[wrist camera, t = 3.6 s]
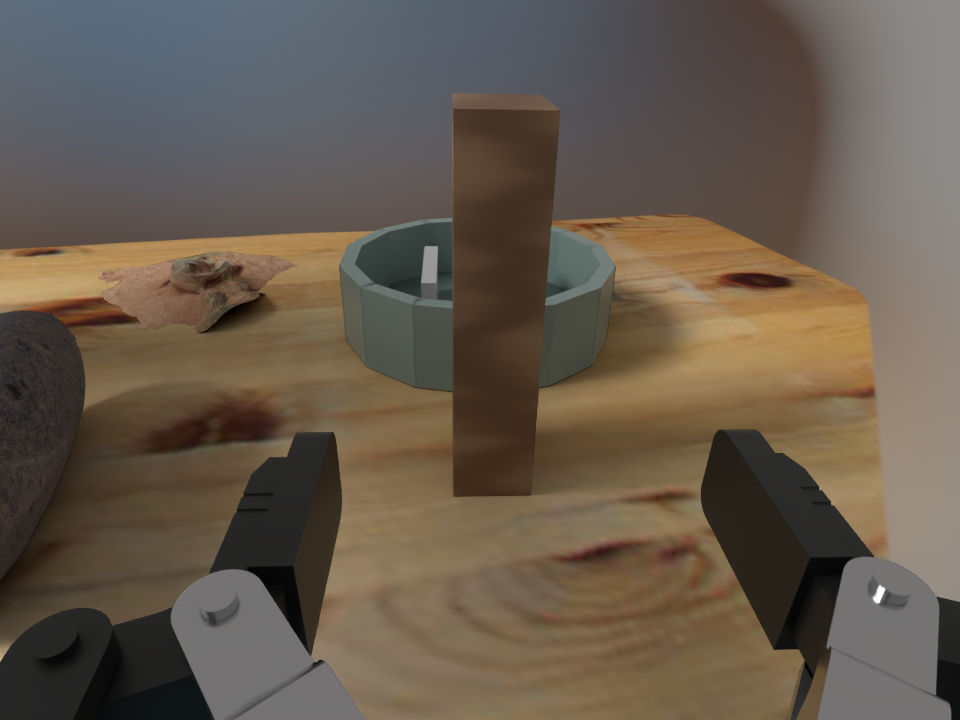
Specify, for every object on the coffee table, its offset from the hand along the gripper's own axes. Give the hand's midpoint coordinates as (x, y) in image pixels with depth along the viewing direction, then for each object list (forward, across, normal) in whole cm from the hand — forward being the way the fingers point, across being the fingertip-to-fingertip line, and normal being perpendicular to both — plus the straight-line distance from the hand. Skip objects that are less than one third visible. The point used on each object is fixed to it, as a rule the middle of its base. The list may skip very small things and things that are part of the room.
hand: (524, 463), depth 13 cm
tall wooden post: (+10, 0, +8) cm, 13 cm away
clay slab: (+28, +19, +9) cm, 35 cm away
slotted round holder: (+23, 0, +8) cm, 24 cm away
